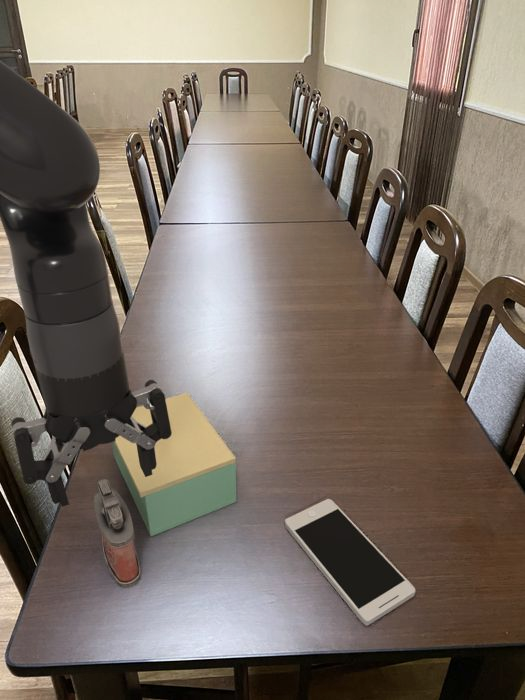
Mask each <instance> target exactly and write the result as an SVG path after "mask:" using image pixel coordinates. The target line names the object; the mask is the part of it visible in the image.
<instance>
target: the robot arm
mask: <svg viewBox="0 0 525 700" xmlns="http://www.w3.org/2000/svg"><path fill="white" fill-rule="evenodd" d="M100 165H101V164H100V157H99V154H98V150H97V148H96V146H95V143H94V141H93V139H92V137H91V136H90V134H89V133H88V132H87V130H86V129H85V127H84V126H83V125H81V123H80V122H79V121H78V120H77V119H75V118H74V117H73V116H72V115H71V114H70V113H68V112H67V111H66V110H65V109H64V108H63V107H61V106H60V105H59V104H57V103H56V102H55V101H54V100H52V98H50V97H49V96H47V95H46V94H45V93H44V92H43V91H41V90H40V89H39V88H37V87H36V86H35V85H33V84H32V83H31V82H29V81H28V80H27V79H25V78H24V77H23V76H22V75H20V74H19V73H18V72H16V71H15V70H14V69H12V68H11V67H10V66H8V65H7V64H6V63H4V62H3V61H2V60H0V222H1V224H2V227H3V230H4V232H5V235H6V238H7V241H8V246H9V250H10V254H11V260H12V266H13V274H14V278H15V282H16V286H17V289H18V290H17V291H18V293H19V298H20V302H21V305H22V310H23V313H24V318H25V327H26V338H27V342H28V346H29V348H28V349H29V354H30V356H31V358H32V361H33V366H34V369H35V373H36V377H37V381H38V384H39V388H40V393H41V396H42V400H43V403H44V407H45V409H44V414H43V417H39V418H35V419H32V420H28V421H26V419H25V418H24V417H21V416H19V417H15V418H13V419H12V420H11V422H10V425H11V430H12V435H13V440H14V443H15V449H16V453H17V457H18V462H19V467H20V471H21V475H22V479H23V483H24V484H26V485H33V484H35V483H36V482H38V481H44V482H45V483H46V485H47V489H48V491H49V495H50V499H51V502H52V503H53V504H54V505H57V504H60V505H61V507H62V508H64V507H66V506H70V502H69V498H68V494H67V491H66V486H65V484H64V479H63V477H62V474H63V473H64V470H65V468H66V467H67V466H69V465H71V464H72V462H73V461H74V459H75V457H76V456H77V454H78V452H79V451H80V450H82V452H86V451H89V450H92V449H94V448H96V447H98V446H99V445H105V444H106V445H107V444H112V442H114V441H116V439H115V438H117V437H118V436H119V435H120V436H121V437H123V438H125V439H126V440H128V441H130V442H131V443H136V445H137V451H138V457H139V463H140V467H141V469H142V471H143V473H144V475H145V477H147V476H150V475H152V470H153V469H155V468H156V465H157V463H156V455H155V448H154V446H155V444H156V442H157V441H158V440H160V439H168V438H169V437H170V436H171V434H172V432H171V426H170V421H169V416H168V411H167V405H166V400H165V399H166V395H165V393H164V391H163V390H162V389H161V387H160V386H159V384H158V383H157V381H156V380H154V379H149V380H147V381H146V382H145V383H144V387H142V388H139V389H136V390H133V391H132V390H131V389H130V383H129V378H128V377H129V376H128V372H127V371H128V370H127V364H126V359H125V358H126V357H125V351H124V346H123V339H122V333H121V332H122V331H121V327H120V322H119V319H118V314H117V312H116V309H115V306H114V300H113V295H112V290H111V289H112V288H111V283H110V276H109V270H108V265H107V260H106V256H105V252H104V249H103V247H102V244H101V242H100V240H99V239H98V237H97V235H96V234H95V232H94V230H93V228H92V225H91V222H90V219H89V214H88V209H87V204H86V203H88V202H89V201H90V200H91V198H92V197H93V196H94V194H95V192H96V190H97V188H98V185H99V181H100V175H101V166H100ZM139 404H141V405H142V406H143V405H144V407H145V408H146V409H150V413H151V418H152V424H151V425H149V426H147V427H145V426H144V425H142V424H141V423H139V422H138V421H136V420H135V419H134V418H133V417H132V414H133V413H134V411H135V409H136V408H137V407H138V405H139ZM45 432H46V433H47V434H48V435H50V436H51V439H50V442H49V448H48V449H47V451H46V453H45V454H44V456H43V458H42V460H39V459H38V460H35V455H34V451H33V447H36V446H37V445H38V443H39V442H40V440H41V439H40V438H41V435H42V434H44V433H45Z"/></svg>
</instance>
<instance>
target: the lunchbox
mask: <svg viewBox="0 0 525 700" xmlns="http://www.w3.org/2000/svg"><path fill="white" fill-rule="evenodd" d="M111 445H112V451H113V457H114V460H115V462H116V465H117V468H118V469H119V471H120V473H121V476H122V478H123V479H124V482H125V484H126V486H127V489H128V491H129V493H130V495H131V497H132V499H133V501H134V503H135V506H136V508H137V510H138V512H139V514H140V516H141V519H142V521H143V523H144V525H145V527H146V530H147V531H148V534H149V536H150V537H154V536H156V535H158V534H161V533H163V532H166V531H169V530H171V529H174V528H176V527H179V526H181V525H183V524H185V523H186V524H187V523H189V522H191V521H194V520H196V519H198V518H201V517H203V516H206V515H208V514H210V513H213V512H215V511H218V510H220V509H223V508H226V507H227V506H228V507H229V506H231V505H233V504H235V503H237V463H236V462H235V463H233V464H230V465H227V466H225V467H222V468H219V469H217V470H214V471H211V472H209V473H206V474H203V475H200V476H198V477H195V478H192V479H190V480H187V481H184V482H182V483H179V484H176V485H173V486H171V487H168V488H165V489H163V490H160V491H157V492H155V493H152V494H149V495H146V496H144V497H140V495H139V493H138V491H137V489H136V487H135V485H134V483H133V481H132V478H131V476H130V474H129V472H128V470H127V468H126V466H125V464H124V462H123V460H122V458H121V455H120V453H119V451H118V449H117V447H116V445H115V443H114V442H111Z"/></svg>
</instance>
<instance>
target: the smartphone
mask: <svg viewBox="0 0 525 700" xmlns="http://www.w3.org/2000/svg"><path fill="white" fill-rule="evenodd" d="M284 527H285V528H286V530H287V531H288V532H289V534H290V535H291V536H292V537H293V538H294V540H295V541H296V542H297V544H298V545H299V546H300V547H301V548H302V550H303V551H304V553H305V554H306V555H307V556H308V557H309V559H310V560H311V561H312V562H313V563H314V565H315V566H316V568H318V570H319V571H320V572H321V574H323V576H324V577H325V579H326V580H327V581H328V582H329V583H330V585H331V586H332V587H333V588H334V590H335V591H336V592H337V593H338V594H339V596H340V597H341V598H342V600H344V602H345V603H346V605H347V606H348V607H349V608H350V609H351V611H352V612H353V613H354V615H355V616H356V617H357V619H359V621H360V622H361V623H362V624H363V625H364V626H366V627H367V626H370V625H371V624H373V623H375V622H376V621H377V620H379V619H381V618H382V617H384V616H386V615H387V614H388V613H390V612H392V611H393V610H395V609H397V608H398V607H400V606H401V605H402V604H404V603H406V602H407V601H409V600H410V599H412V598H413V597H415V594H416V588H415V586H414V585H413V584H412V582H410V581H409V579H407V578H406V577H405V576H404V575H403V574H402V573H401V572H400V570H399V569H398V568H396V566H395V565H394V564H393V563H392V561H390V560H389V558H388V557H387V556H385V554H384V553H383V552H382V551H381V550H380V549H379V548H378V547H377V546H376V545H375V544H374V543H373V542H372V541H371V539H369V537H368V536H366V535H365V534H364V532H363V531H362V530H361V529H360V528H359V527H358V526H357V525H356V523H355V522H353V521H352V520H351V518H350V517H349V516H348V515H347V514H346V513H345V512H344V511H343V510H342V509H341V508H340V507H339V506H338V505H337V504H336V502H335V501H334V500H332V499H331V498H326V499H325V500H323V501H320V502H319V503H316V504H314V505H312V506H310V507H308V508H306V509H304V510H301V511H299V512H297V513H295V514H293V515H291V516H289V517H287V518H285V519H284Z"/></svg>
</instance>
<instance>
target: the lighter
mask: <svg viewBox="0 0 525 700" xmlns="http://www.w3.org/2000/svg"><path fill="white" fill-rule="evenodd" d="M97 489H98V492H96V494H95V495H94V497H93V508H94V509H93V510H94V514H95V518H96V522H97V525H98V528H99V530H100V534H101V538H102V539H101V542H102V552H103V557H104V560H105V564H106V567H107V569H108V571H109V574H110V576H111V577H112V579H113V580H114V582H115V583H116V585H117V586H118V587H119V588H121V589H130V588H133V587H135V586H136V585H138V583H139V582H140V581H141V578H142V573H141V568H140V561H139V557H138V554H137V551H136V548H135V542H134V541H135V540H136V538H135V532H134V526H133V518H132V515H131V513H130V510H129V507H128V505H127V504H126V502H125V500H124V499H123V497H122V496H121V495H120V493H119V492H118V491H117V490H115V489H113V488H112V486H111V485H110V482H109V480H108V479H101V480H99V481H98V482H97Z"/></svg>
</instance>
